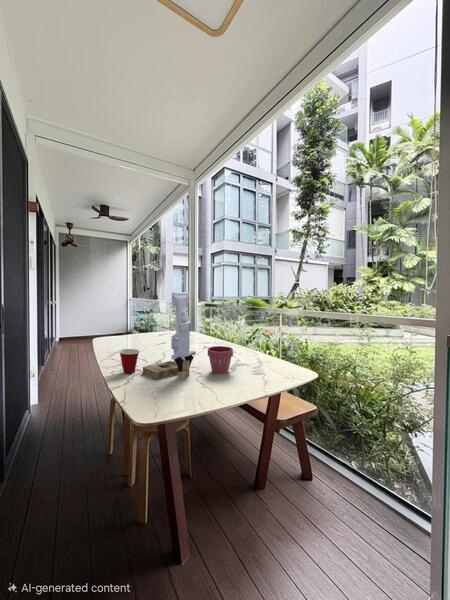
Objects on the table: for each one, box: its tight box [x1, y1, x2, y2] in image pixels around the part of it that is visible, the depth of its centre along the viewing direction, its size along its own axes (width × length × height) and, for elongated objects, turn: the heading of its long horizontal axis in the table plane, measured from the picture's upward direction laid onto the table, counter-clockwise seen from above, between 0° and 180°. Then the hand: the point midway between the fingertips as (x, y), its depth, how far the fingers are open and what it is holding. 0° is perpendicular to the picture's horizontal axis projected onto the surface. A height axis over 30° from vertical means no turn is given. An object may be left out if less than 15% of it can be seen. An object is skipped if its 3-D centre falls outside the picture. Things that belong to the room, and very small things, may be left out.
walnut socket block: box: [142, 360, 179, 380], centre depth 144 cm, size 18×14×4 cm
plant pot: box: [207, 345, 234, 375], centre depth 146 cm, size 14×14×13 cm
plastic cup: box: [118, 348, 141, 375], centre depth 144 cm, size 11×11×12 cm
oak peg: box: [178, 359, 190, 379], centre depth 138 cm, size 4×4×8 cm
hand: (183, 370), depth 138 cm, fingers closed on oak peg, 4 cm apart
